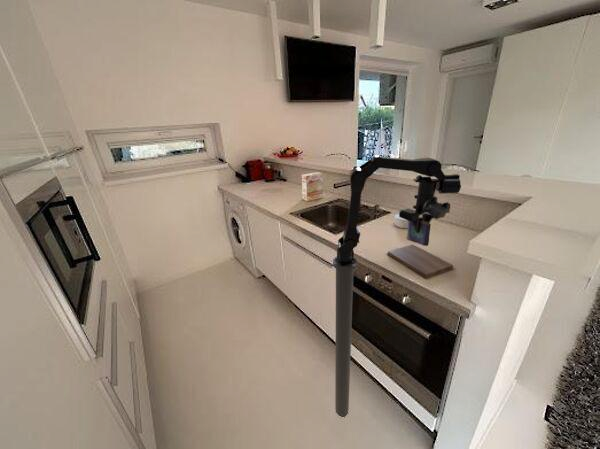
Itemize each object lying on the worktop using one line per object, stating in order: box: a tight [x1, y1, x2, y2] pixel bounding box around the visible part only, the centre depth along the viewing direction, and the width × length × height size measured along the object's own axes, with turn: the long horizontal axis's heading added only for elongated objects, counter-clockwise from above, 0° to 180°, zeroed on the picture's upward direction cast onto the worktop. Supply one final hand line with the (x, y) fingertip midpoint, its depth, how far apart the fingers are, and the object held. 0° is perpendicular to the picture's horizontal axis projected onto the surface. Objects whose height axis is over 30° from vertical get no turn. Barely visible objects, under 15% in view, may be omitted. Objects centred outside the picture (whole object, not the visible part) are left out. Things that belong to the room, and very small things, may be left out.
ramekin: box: [393, 213, 408, 229], centre depth 134 cm, size 11×11×5 cm
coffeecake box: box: [301, 171, 324, 202], centre depth 189 cm, size 15×7×20 cm, turn 120°
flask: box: [406, 220, 431, 247], centre depth 97 cm, size 9×3×11 cm, turn 31°
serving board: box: [387, 244, 454, 279], centre depth 100 cm, size 14×20×2 cm
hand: (420, 231), depth 96 cm, fingers closed on flask, 3 cm apart
